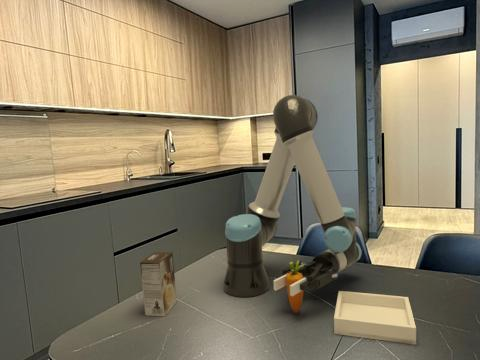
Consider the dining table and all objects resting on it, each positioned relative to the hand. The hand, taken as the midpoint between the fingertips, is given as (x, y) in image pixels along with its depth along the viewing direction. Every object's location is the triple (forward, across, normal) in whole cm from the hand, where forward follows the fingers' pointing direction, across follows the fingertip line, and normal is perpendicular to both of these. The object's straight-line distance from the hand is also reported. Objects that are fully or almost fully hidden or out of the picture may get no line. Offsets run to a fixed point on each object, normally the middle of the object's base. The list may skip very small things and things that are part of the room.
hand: (282, 288), depth 91 cm
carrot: (-5, 0, -9) cm, 11 cm away
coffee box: (+18, +32, -9) cm, 38 cm away
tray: (-14, -18, -9) cm, 24 cm away
